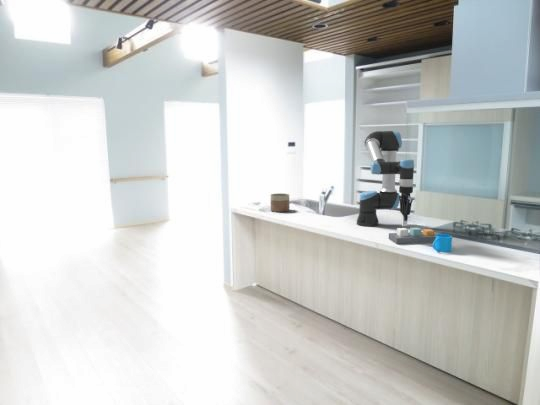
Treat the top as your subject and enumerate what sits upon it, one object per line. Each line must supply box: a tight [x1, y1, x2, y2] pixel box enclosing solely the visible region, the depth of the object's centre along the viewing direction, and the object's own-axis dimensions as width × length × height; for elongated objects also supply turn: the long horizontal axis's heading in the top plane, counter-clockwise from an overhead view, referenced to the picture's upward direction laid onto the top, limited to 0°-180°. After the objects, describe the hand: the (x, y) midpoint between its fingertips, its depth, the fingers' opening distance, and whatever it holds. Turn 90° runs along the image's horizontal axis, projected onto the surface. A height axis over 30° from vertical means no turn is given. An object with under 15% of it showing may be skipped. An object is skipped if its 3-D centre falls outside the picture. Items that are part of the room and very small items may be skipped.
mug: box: [432, 233, 453, 253], centre depth 214 cm, size 12×8×8 cm
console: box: [388, 231, 438, 245], centre depth 236 cm, size 12×28×4 cm, turn 95°
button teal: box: [409, 227, 423, 236], centre depth 235 cm, size 5×5×4 cm
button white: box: [396, 227, 409, 237], centre depth 235 cm, size 5×5×4 cm
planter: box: [270, 192, 290, 213], centre depth 336 cm, size 16×16×14 cm
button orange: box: [422, 228, 435, 236], centre depth 236 cm, size 5×5×4 cm
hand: (404, 225), depth 234 cm, fingers closed
